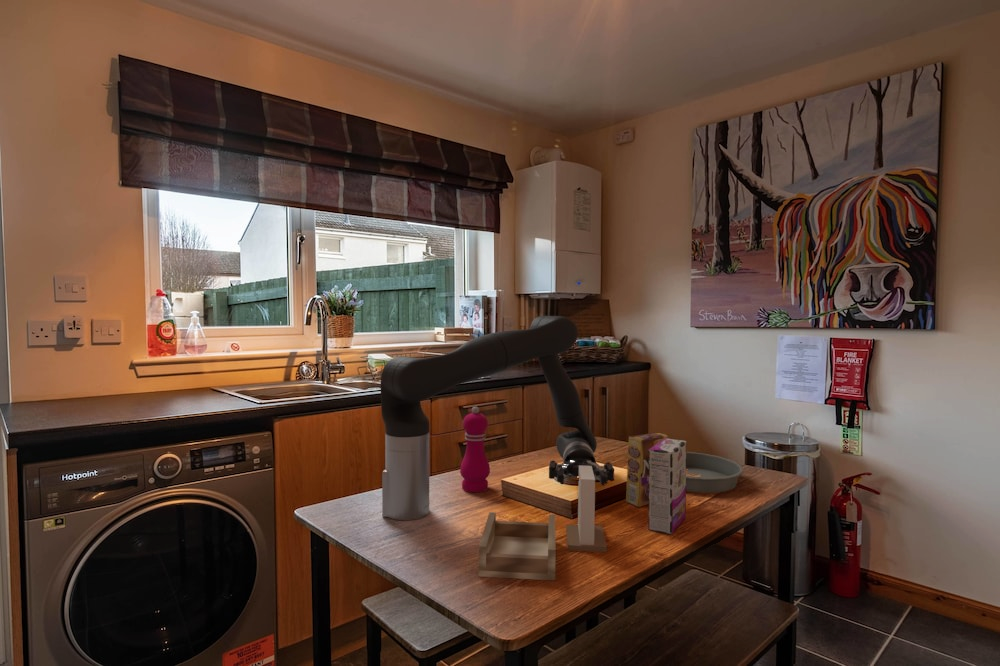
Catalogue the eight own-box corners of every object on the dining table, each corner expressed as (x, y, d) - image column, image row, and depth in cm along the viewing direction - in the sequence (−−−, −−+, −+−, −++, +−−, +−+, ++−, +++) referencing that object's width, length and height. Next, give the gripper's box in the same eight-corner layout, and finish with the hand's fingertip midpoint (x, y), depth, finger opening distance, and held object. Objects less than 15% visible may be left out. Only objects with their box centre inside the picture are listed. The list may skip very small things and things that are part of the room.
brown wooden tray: (478, 576, 91) (478, 546, 91) (489, 538, 107) (489, 512, 106) (555, 580, 90) (555, 549, 90) (554, 541, 105) (555, 514, 105)
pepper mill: (472, 482, 141) (473, 403, 141) (495, 487, 137) (496, 406, 136) (453, 489, 136) (454, 407, 135) (477, 495, 131) (478, 410, 130)
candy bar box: (662, 513, 121) (663, 437, 120) (686, 517, 118) (687, 440, 117) (646, 530, 111) (647, 448, 110) (671, 535, 108) (673, 451, 108)
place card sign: (567, 550, 101) (568, 479, 101) (566, 529, 111) (567, 464, 111) (606, 552, 101) (608, 480, 100) (602, 530, 111) (603, 465, 110)
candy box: (639, 508, 123) (641, 439, 123) (625, 502, 127) (626, 435, 126) (667, 501, 128) (668, 434, 128) (652, 495, 132) (653, 431, 131)
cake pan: (623, 479, 145) (623, 462, 145) (673, 462, 162) (673, 446, 162) (714, 503, 127) (715, 484, 127) (760, 481, 144) (760, 464, 144)
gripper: (549, 443, 135) (548, 461, 119) (609, 445, 134) (617, 463, 118) (549, 474, 135) (548, 496, 119) (608, 476, 134) (616, 499, 118)
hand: (582, 480), depth 118 cm, fingers open, 8 cm apart
